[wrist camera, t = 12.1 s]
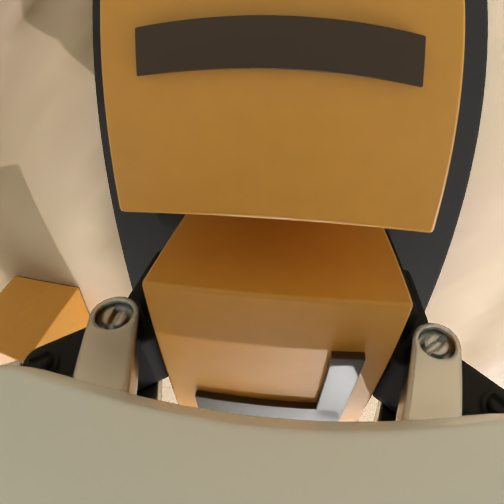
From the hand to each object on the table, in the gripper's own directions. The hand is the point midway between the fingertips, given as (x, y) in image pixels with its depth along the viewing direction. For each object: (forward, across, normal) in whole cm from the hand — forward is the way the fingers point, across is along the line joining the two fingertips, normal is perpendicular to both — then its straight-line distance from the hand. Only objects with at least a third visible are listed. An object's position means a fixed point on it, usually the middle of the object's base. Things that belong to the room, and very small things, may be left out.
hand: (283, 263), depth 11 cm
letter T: (+1, +12, +6) cm, 13 cm away
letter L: (0, 0, 0) cm, 0 cm away
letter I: (0, 0, -6) cm, 6 cm away
